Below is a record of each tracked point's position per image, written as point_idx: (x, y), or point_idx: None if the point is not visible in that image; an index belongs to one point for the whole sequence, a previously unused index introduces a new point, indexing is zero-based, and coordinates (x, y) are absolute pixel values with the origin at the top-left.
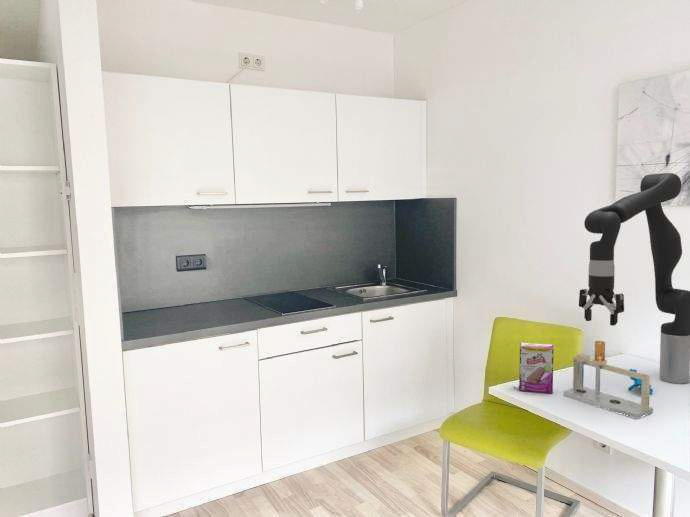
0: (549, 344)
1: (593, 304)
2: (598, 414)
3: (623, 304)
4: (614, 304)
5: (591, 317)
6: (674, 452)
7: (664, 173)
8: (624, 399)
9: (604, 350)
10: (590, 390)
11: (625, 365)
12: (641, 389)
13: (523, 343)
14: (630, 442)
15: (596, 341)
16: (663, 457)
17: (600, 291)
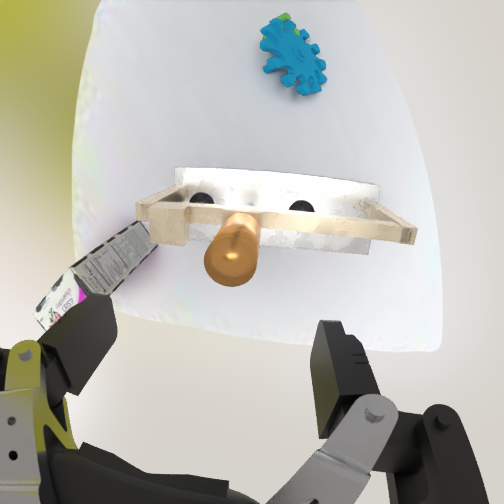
0: (65, 276)
1: (45, 403)
2: (296, 282)
3: (473, 479)
4: (356, 493)
5: (97, 304)
6: (432, 325)
7: None
8: (310, 179)
9: (258, 245)
10: (214, 181)
11: None
12: (316, 92)
13: (40, 319)
14: (380, 343)
15: (211, 265)
16: (421, 347)
17: None
